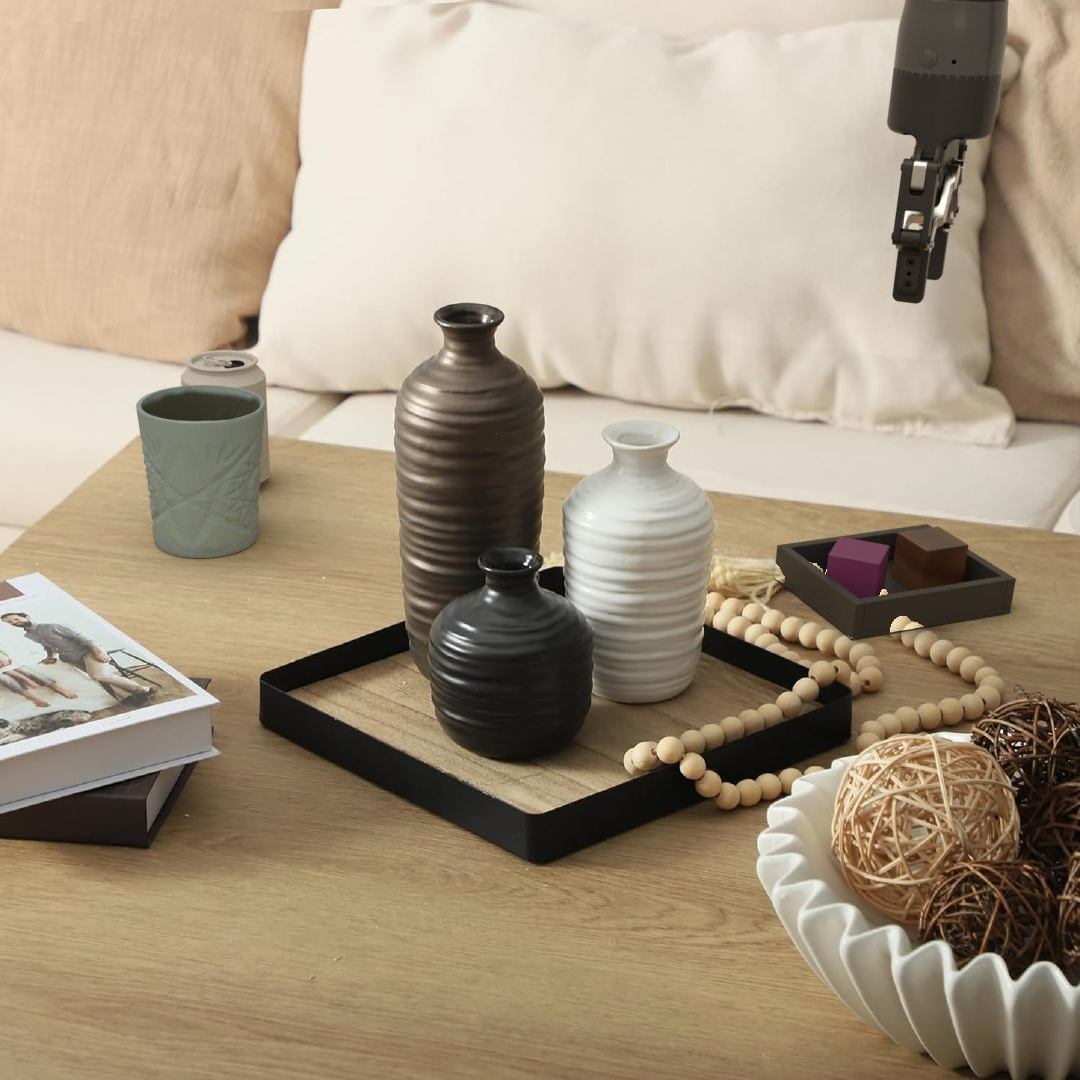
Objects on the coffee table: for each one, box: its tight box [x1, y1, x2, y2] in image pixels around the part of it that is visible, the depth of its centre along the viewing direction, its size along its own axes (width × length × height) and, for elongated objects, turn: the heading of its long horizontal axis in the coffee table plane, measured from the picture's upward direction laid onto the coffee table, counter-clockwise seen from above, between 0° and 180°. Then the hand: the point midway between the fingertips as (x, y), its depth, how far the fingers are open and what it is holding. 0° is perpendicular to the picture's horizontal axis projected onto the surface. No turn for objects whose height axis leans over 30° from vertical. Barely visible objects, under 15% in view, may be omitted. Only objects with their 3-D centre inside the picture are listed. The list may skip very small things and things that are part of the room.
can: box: [180, 349, 271, 486], centre depth 134 cm, size 8×8×12 cm
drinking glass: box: [135, 385, 265, 559], centre depth 122 cm, size 10×10×12 cm
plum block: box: [826, 536, 890, 599], centre depth 116 cm, size 4×4×4 cm
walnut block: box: [891, 526, 969, 591], centre depth 118 cm, size 4×4×4 cm
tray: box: [774, 523, 1017, 641], centre depth 117 cm, size 15×12×3 cm
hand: (917, 289), depth 111 cm, fingers open, 8 cm apart
